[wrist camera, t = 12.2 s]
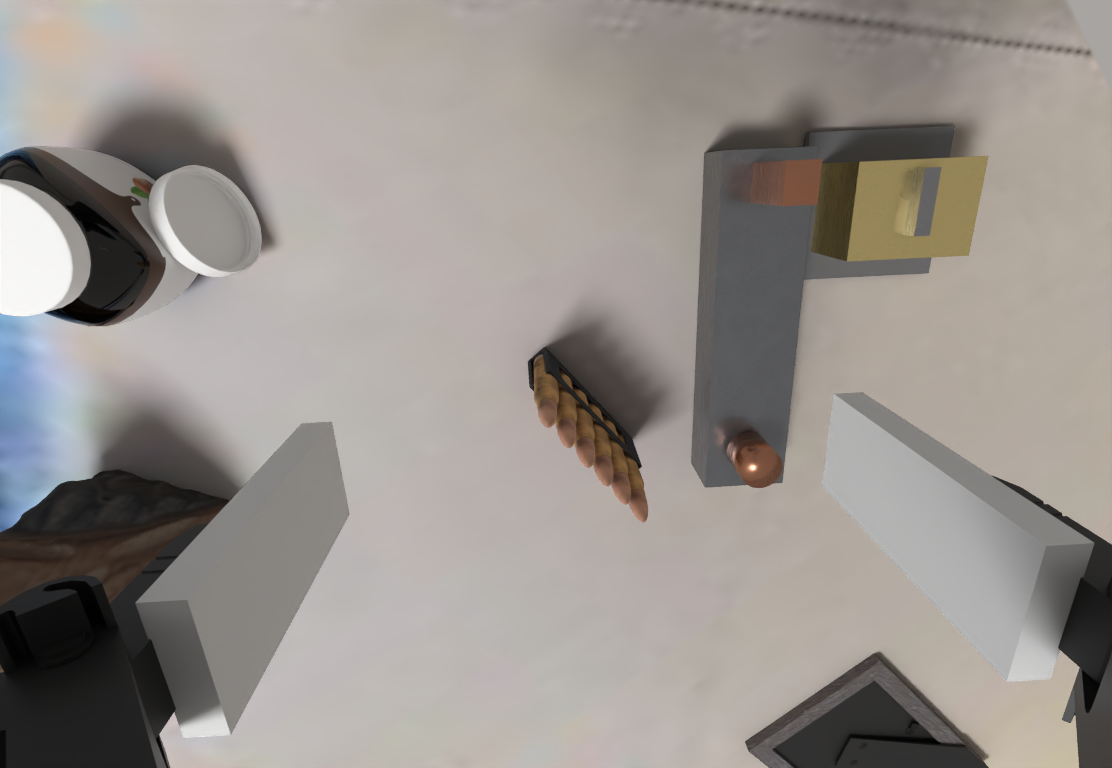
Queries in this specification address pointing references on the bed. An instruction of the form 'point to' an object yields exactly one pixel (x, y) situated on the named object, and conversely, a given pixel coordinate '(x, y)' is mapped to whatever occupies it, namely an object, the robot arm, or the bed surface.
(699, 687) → the bed surface
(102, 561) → the brown rock
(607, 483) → the ammunition clip
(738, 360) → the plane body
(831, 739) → the picture frame
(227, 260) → the spread jar
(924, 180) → the lever cap
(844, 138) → the felt mat
